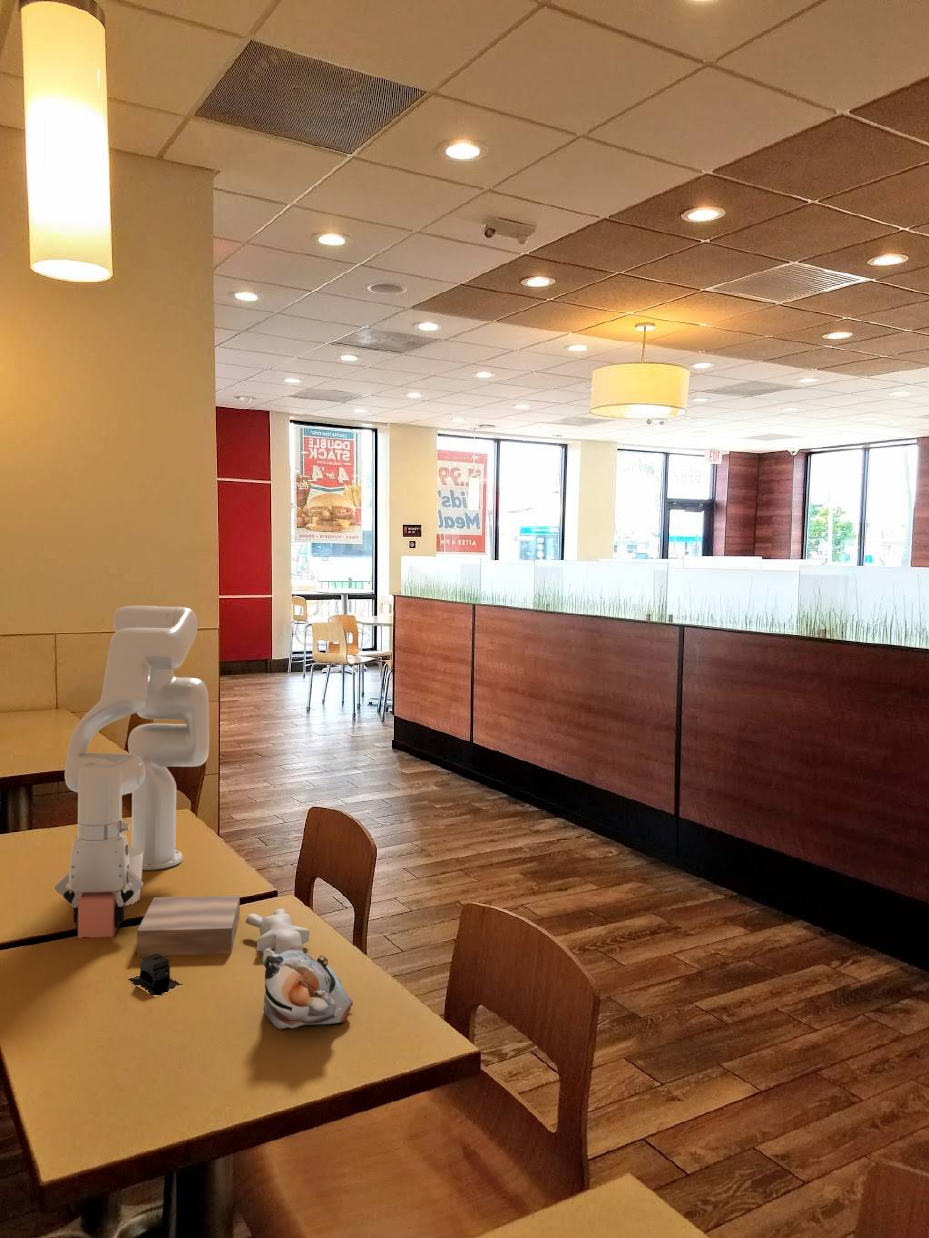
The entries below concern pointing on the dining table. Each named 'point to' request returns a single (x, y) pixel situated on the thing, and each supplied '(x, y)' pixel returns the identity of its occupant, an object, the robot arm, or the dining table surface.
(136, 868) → the white cup
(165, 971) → the black boxy gadget
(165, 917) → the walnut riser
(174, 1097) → the dining table surface
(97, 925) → the red block
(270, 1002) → the lucky cat figurine
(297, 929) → the bunny figurine
